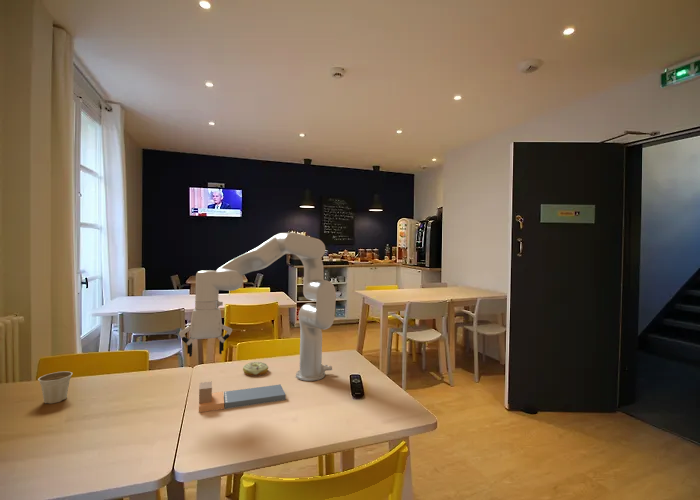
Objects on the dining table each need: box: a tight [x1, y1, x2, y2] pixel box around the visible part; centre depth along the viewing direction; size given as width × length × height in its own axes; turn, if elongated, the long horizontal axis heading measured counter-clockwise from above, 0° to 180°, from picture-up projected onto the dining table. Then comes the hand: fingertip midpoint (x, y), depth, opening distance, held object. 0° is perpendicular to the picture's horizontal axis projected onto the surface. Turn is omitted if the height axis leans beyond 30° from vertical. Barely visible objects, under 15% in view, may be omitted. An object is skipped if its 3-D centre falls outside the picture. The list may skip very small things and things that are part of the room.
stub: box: [198, 381, 225, 413], centre depth 123 cm, size 8×10×7 cm
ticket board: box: [223, 384, 287, 410], centre depth 129 cm, size 21×10×2 cm, turn 112°
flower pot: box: [37, 371, 73, 404], centre depth 124 cm, size 9×9×9 cm
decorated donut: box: [242, 361, 269, 377], centre depth 155 cm, size 10×11×4 cm
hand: (205, 354), depth 122 cm, fingers open, 9 cm apart
